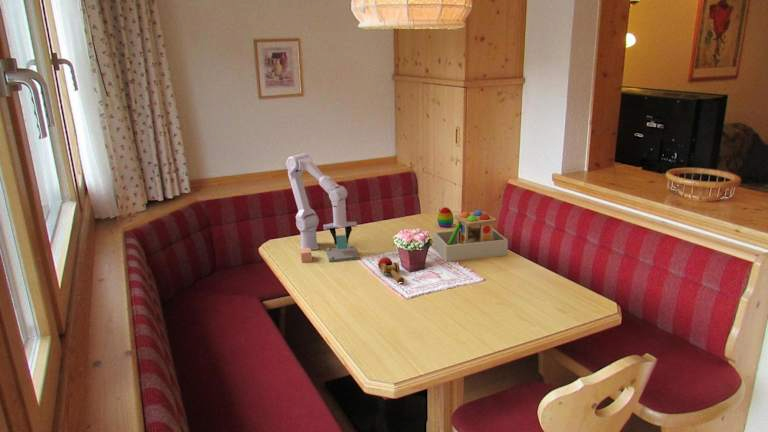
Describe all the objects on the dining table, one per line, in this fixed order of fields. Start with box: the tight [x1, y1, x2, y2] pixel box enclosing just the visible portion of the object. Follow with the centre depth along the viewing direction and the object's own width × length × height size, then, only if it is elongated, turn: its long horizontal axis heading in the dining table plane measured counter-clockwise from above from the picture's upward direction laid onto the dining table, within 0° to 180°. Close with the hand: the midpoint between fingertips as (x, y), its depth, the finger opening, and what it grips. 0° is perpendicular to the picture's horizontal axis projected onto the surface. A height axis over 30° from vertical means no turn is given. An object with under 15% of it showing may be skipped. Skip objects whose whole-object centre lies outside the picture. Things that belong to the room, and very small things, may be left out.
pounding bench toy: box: [447, 209, 498, 245], centre depth 243 cm, size 23×14×18 cm, turn 108°
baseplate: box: [325, 245, 360, 263], centre depth 246 cm, size 14×13×2 cm
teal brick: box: [335, 234, 348, 249], centre depth 244 cm, size 6×4×4 cm
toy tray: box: [433, 227, 509, 263], centre depth 245 cm, size 19×28×7 cm
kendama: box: [377, 256, 405, 284], centre depth 221 cm, size 8×6×18 cm
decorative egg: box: [437, 207, 455, 229], centre depth 279 cm, size 8×8×10 cm
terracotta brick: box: [299, 248, 313, 264], centre depth 241 cm, size 6×4×4 cm
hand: (341, 243), depth 244 cm, fingers closed on teal brick, 4 cm apart
